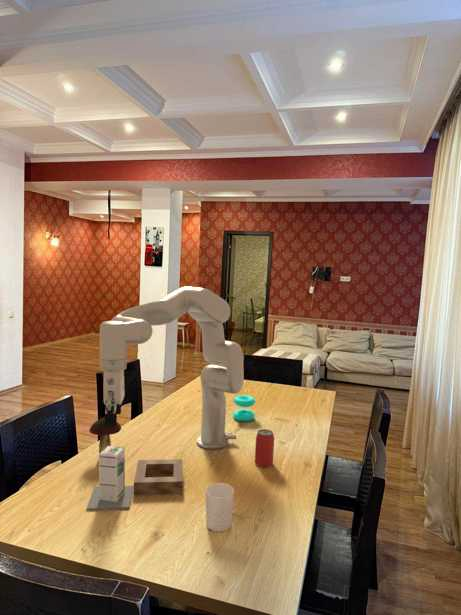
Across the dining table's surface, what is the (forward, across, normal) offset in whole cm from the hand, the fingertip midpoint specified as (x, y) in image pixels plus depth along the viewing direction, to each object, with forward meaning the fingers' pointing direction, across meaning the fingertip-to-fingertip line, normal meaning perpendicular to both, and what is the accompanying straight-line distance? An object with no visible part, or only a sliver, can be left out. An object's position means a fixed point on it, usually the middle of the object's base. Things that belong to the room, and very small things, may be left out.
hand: (113, 420), depth 127 cm
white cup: (+25, -16, -30) cm, 42 cm away
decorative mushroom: (+25, +26, +6) cm, 37 cm away
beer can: (+25, +19, -50) cm, 60 cm away
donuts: (+26, +65, -50) cm, 87 cm away
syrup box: (+24, 0, 0) cm, 24 cm away
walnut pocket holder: (+24, +8, -14) cm, 29 cm away
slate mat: (+24, -1, 0) cm, 24 cm away
